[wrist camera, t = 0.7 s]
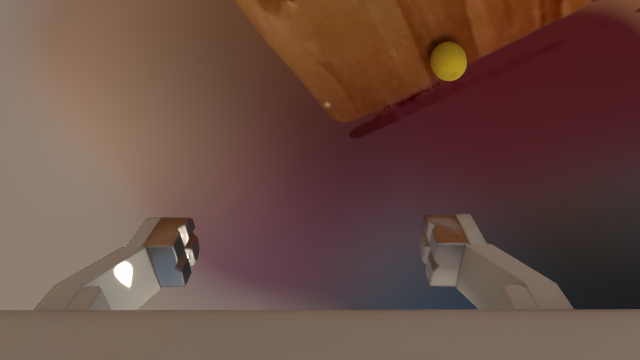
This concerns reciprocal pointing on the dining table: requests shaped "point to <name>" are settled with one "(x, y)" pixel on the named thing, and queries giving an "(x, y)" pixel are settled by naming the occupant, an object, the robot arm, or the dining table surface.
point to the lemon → (448, 61)
